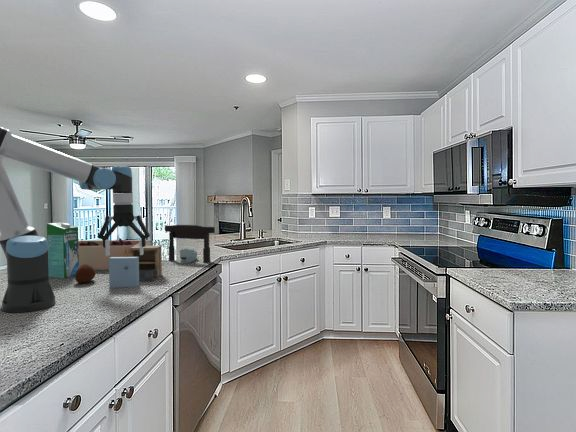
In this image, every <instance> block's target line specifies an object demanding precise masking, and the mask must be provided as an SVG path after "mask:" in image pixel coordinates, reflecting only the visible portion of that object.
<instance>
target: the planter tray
mask: <svg viewBox="0 0 576 432" xmlns="http://www.w3.org/2000/svg"><path fill="white" fill-rule="evenodd" d="M139 240H140V239H133V240H132V239H129V240H128V239H127V240H126V239H125V240H124V239H122V241H123V242H127V241H130V242H131V243H132V245H133V246H111V245H110V255H109V256H106V249H105V248H104V247H103V240H102V239H98V240H78V253H79V267H80V266H82V265H85V264H86V265H90V266H92V267H93V268H94V270H95V271H97V270H98V271H99V270H101V271H102V270H108V271H109V258H111V257H124V249H125V247H126V249H127V257H128V248H129V247H130V248H131V247H134V246H140V243H139ZM87 241H89V242H91V241H92V242H95V243H98V245H99V246H79V244H80V243H84V244H85V242H86V244H87ZM109 241H110V244H111V243H112V242H114V241H116V242H118V241H119V239H118V240H117V239H113V240H112V239H111V240H110V239H109ZM146 246H150V240H149V239H146Z"/></svg>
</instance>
